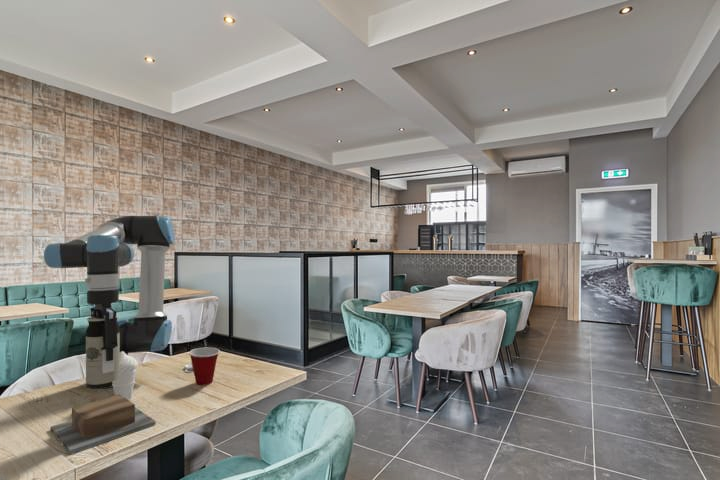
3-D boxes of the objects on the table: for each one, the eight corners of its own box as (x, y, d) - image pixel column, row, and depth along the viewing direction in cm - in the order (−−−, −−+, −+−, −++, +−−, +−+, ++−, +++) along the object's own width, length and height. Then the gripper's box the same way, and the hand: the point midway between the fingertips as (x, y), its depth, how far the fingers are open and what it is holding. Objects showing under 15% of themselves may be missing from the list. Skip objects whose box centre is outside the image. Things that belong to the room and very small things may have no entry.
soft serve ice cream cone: (143, 395, 130) (143, 349, 130) (121, 405, 122) (121, 356, 122) (125, 393, 133) (125, 347, 133) (102, 402, 125) (102, 353, 125)
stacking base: (50, 430, 106) (50, 408, 106) (129, 406, 121) (129, 387, 122) (70, 454, 93) (69, 430, 93) (155, 424, 109) (155, 403, 109)
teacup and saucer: (181, 370, 159) (181, 360, 159) (200, 365, 164) (200, 356, 164) (188, 375, 152) (188, 364, 152) (208, 370, 157) (208, 360, 158)
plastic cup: (209, 388, 136) (209, 355, 136) (182, 386, 138) (182, 353, 138) (225, 378, 146) (225, 347, 147) (200, 376, 148) (200, 346, 149)
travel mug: (107, 374, 113) (107, 313, 113) (126, 377, 110) (125, 315, 110) (79, 383, 105) (79, 318, 106) (98, 386, 102) (98, 320, 103)
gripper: (76, 288, 112) (76, 365, 111) (99, 292, 99) (99, 380, 98) (106, 285, 118) (106, 359, 117) (131, 289, 104) (131, 372, 104)
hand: (103, 368), depth 108 cm, fingers closed on travel mug, 8 cm apart
